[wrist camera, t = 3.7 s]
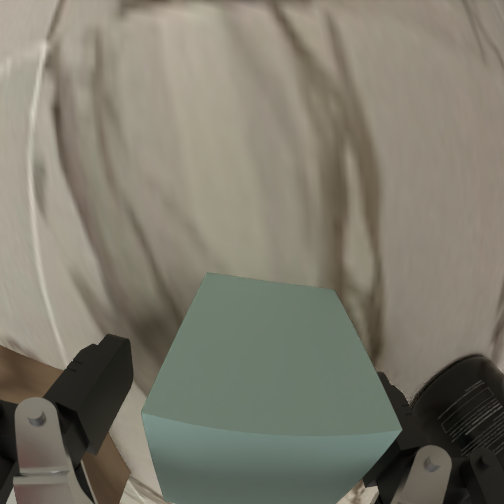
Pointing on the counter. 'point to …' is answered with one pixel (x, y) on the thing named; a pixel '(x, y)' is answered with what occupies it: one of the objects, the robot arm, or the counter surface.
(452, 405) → the supplement bottle
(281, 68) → the counter surface
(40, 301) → the counter surface
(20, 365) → the walnut base
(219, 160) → the counter surface
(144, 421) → the sage block
